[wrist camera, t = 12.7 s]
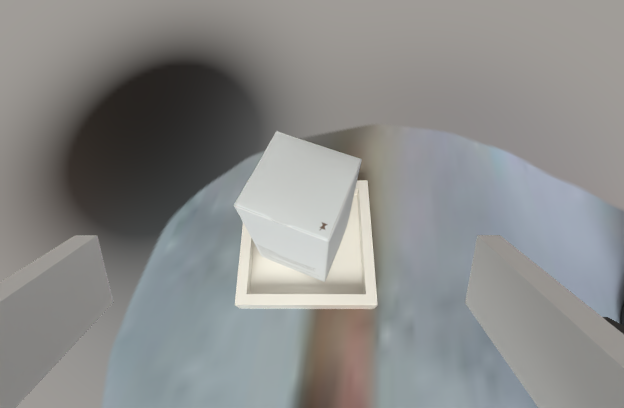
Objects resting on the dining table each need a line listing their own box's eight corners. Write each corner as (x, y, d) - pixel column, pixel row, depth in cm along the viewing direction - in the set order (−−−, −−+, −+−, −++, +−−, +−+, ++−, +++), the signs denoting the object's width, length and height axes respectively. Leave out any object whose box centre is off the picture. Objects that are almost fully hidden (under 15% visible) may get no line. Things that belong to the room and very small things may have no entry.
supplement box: (350, 220, 43) (366, 157, 30) (325, 283, 40) (330, 244, 26) (287, 197, 45) (276, 126, 31) (258, 256, 41) (230, 205, 28)
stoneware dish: (364, 190, 46) (367, 180, 44) (373, 308, 39) (377, 305, 37) (251, 191, 46) (247, 180, 44) (240, 308, 40) (234, 304, 37)
